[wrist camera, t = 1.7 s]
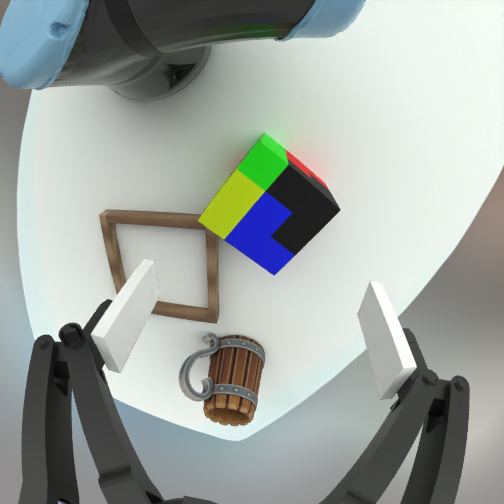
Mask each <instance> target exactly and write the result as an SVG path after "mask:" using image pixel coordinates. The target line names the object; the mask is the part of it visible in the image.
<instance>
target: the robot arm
mask: <svg viewBox="0 0 504 504" xmlns="http://www.w3.org/2000/svg"><path fill="white" fill-rule="evenodd" d="M365 1H366V0H11V2H10V5H9V6H8V8H7V11H6V13H5V15H4V18H3V21H2V24H1V27H0V76H1V77H2V78H3V79H4V81H5V82H6V83H7V85H9V86H11V87H13V88H18V89H19V88H20V89H21V88H22V89H23V88H33V89H37V90H41V89H45V88H47V87H58V86H76V85H107V86H108V87H109V88H111V89H112V90H114V91H115V92H116V93H118V94H120V95H121V96H124V97H127V98H130V99H135V100H154V99H160V98H164V97H167V96H169V95H172V94H174V93H176V92H178V91H179V90H181V89H183V88H184V87H185V86H187V85H188V84H189V83H190V82H191V81H192V80H193V79H194V78H195V77H196V76H197V75H198V74H199V73H200V71H201V70H202V68H203V67H204V65H205V63H206V61H207V59H208V57H209V54H210V50H211V45H214V44H221V43H228V42H237V41H247V40H259V39H274V40H275V41H286V40H289V39H292V38H326V37H331V36H334V35H336V34H337V33H339V32H342V31H344V30H345V29H347V28H348V27H349V26H350V25H351V24H352V23H353V21H354V20H355V19H356V18H357V16H358V15H359V13H360V11H361V9H362V8H363V6H364V3H365ZM159 297H160V289H159V283H158V277H157V271H156V264H155V260H151V259H143V261H142V262H141V263H140V264H139V266H138V267H137V268H136V270H135V271H134V272H133V274H132V275H131V276H130V278H129V279H128V281H127V282H126V283H125V285H124V286H123V287H122V289H121V290H120V292H119V293H118V294H117V296H116V297H115V299H114V300H109V299H107V300H106V301H104V302H103V303H102V304H100V306H99V307H98V308H97V310H96V312H95V313H94V314H93V316H92V317H91V318H90V320H89V321H88V323H87V324H86V326H85V327H84V329H83V330H82V328H81V326H80V325H79V324H77V323H68V324H66V325H64V326H63V327H62V328H61V329H60V331H59V338H60V340H61V341H62V342H55V341H54V340H53V338H52V336H50V335H42V336H40V337H38V338H37V339H36V341H35V343H34V346H33V351H32V355H31V360H30V365H29V371H28V377H27V384H26V390H25V400H24V408H23V421H22V475H23V483H22V488H21V493H20V498H19V503H18V504H79V493H78V487H77V480H76V472H75V465H74V455H73V442H72V419H71V396H72V390H73V394H74V398H75V403H76V406H77V410H78V414H79V417H80V421H81V424H82V428H83V431H84V434H85V437H86V440H87V443H88V446H89V449H90V452H91V454H92V457H93V459H94V462H95V465H96V467H97V470H98V472H99V476H100V477H99V479H98V481H99V485H100V488H101V490H102V492H103V494H104V497H105V499H106V501H107V503H108V504H217V503H214V502H211V501H208V500H203V499H198V498H192V497H188V496H184V498H176V499H170V500H166V501H165V500H164V499H163V497H162V496H161V494H160V493H159V491H158V490H157V488H156V487H155V486H154V484H153V483H152V482H151V480H150V479H149V477H148V475H147V474H146V472H145V470H144V468H143V466H142V464H141V462H140V460H139V458H138V456H137V454H136V452H135V450H134V448H133V446H132V444H131V442H130V440H129V437H128V435H127V433H126V431H125V428H124V426H123V423H122V421H121V419H120V416H119V414H118V411H117V409H116V406H115V403H114V401H113V398H112V395H111V392H110V389H109V387H108V384H107V381H106V377H105V374H104V371H103V370H102V367H103V366H104V364H106V366H107V368H108V370H111V371H114V372H117V373H121V371H122V369H123V367H124V365H125V363H126V361H127V359H128V357H129V355H130V353H131V351H132V349H133V347H134V345H135V343H136V341H137V339H138V337H139V335H140V333H141V331H142V329H143V327H144V325H145V323H146V321H147V319H148V317H149V315H150V314H151V312H152V310H153V308H154V306H155V304H156V302H157V300H158V299H159ZM357 315H358V318H359V321H360V325H361V328H362V332H363V335H364V339H365V343H366V346H367V350H368V354H369V357H370V361H371V366H372V370H373V373H374V378H375V382H376V387H377V391H378V396H379V399H380V400H383V399H392V398H393V397H394V395H395V394H396V393H397V394H398V397H399V399H398V400H397V401H396V402H395V403H394V404H393V405H392V406H391V408H390V409H391V411H390V413H389V414H388V416H387V418H386V419H385V421H384V423H383V424H382V426H381V427H380V429H379V430H378V432H377V434H376V435H375V436H374V438H373V439H372V441H371V442H370V444H369V445H368V447H367V448H366V449H365V451H364V452H363V454H362V455H361V456H360V458H359V459H358V460H357V462H356V463H355V464H354V465H353V467H352V468H351V469H350V471H349V472H348V473H347V474H346V476H345V477H344V478H343V479H342V480H341V482H340V483H339V484H338V485H337V486H336V487H335V489H334V490H333V491H332V492H331V493H330V494H329V495H328V496H327V497H326V498H325V499H324V500H323V501H322V502H320V503H319V504H376V502H377V501H378V500H379V498H380V497H381V495H382V494H383V492H384V491H385V490H386V488H387V487H388V485H389V484H390V482H391V481H392V479H393V478H394V476H395V474H396V473H397V471H398V469H399V468H400V466H401V464H402V463H403V461H404V459H405V458H406V456H407V454H408V452H409V450H410V448H411V447H412V445H413V443H414V441H415V439H416V437H417V435H418V433H419V431H420V428H421V427H422V425H423V428H422V433H421V437H420V441H419V446H418V450H417V454H416V457H415V461H414V465H413V468H412V472H411V475H410V478H409V481H408V484H407V487H406V490H405V492H404V495H403V498H402V501H401V503H400V504H454V502H455V498H456V494H457V490H458V486H459V482H460V478H461V473H462V467H463V462H464V455H465V448H466V440H467V432H468V419H469V391H470V390H469V383H468V382H467V380H466V379H465V378H464V377H462V376H458V375H457V376H455V377H453V378H452V380H451V381H447V380H441V379H439V378H438V376H437V375H436V373H435V372H433V371H432V370H429V369H428V368H427V365H426V363H425V360H424V358H423V355H422V353H421V351H420V349H419V346H418V343H417V341H416V338H415V336H414V334H413V333H412V332H411V331H410V330H409V329H408V328H401V325H400V323H399V321H398V318H397V316H396V314H395V311H394V309H393V307H392V305H391V302H390V300H389V298H388V296H387V294H386V292H385V289H384V287H383V285H382V283H381V282H380V281H370V282H369V285H368V287H367V290H366V293H365V296H364V298H363V301H362V304H361V306H360V309H359V312H358V314H357ZM423 422H424V423H423Z"/></svg>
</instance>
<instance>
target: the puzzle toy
mask: <svg viewBox="0 0 504 504" xmlns="http://www.w3.org/2000/svg"><path fill="white" fill-rule="evenodd" d="M339 211H340V208H339V206H338V205H337V203H336V201H335V199H334V198H333V196H332V194H331V193H330V191H329V189H328V188H327V186H326V184H325V183H324V182H323V181H322V180H321V179H320V178H318V177H317V176H316V175H315V174H314V173H313V172H312V171H310V170H309V169H308V168H307V167H306V166H305V165H303V164H302V163H301V162H300V161H299V160H298V159H296V158H295V157H294V156H293V155H291V154H290V153H289V152H288V151H287V150H285V149H284V148H283V147H282V146H280V145H279V144H278V143H277V142H275V141H274V140H273V139H272V138H270V137H269V136H268V135H266V134H265V133H264V134H263V135H262V137H261V138H260V139H259V140H258V141H257V143H256V144H255V145H254V146H253V147H252V149H251V150H250V151H249V152H248V153H247V155H246V156H245V157H244V158H243V160H242V161H241V162H240V163H239V165H238V166H237V167H236V168H235V170H234V171H233V172H232V173H231V175H230V176H229V177H228V179H227V180H226V181H225V182H224V184H223V185H222V186H221V188H220V189H219V190H218V192H217V193H216V194H215V196H214V197H213V199H212V200H211V202H210V203H209V205H208V206H207V208H206V209H205V211H204V212H203V214H202V215H201V217H200V218H199V220H198V221H199V222H200V223H201V224H203V225H204V226H206V227H207V228H208V229H210V230H211V231H213V232H214V233H215V234H217V235H218V236H219V237H221V238H222V239H224V240H225V241H226V242H228V243H229V244H231V245H232V246H233V247H235V248H236V249H238V250H239V251H240V252H242V253H243V254H245V255H246V256H247V257H249V258H250V259H252V260H253V261H254V262H256V263H257V264H259V265H260V266H261V267H263V268H264V269H266V270H267V271H268V272H270V273H271V274H273V275H275V274H276V273H277V272H279V271H280V270H281V269H282V268H283V267H284V266H285V265H286V264H287V263H288V262H289V261H290V260H291V259H292V258H293V257H294V256H295V255H296V254H297V253H298V252H299V251H300V250H301V249H302V248H303V247H304V246H305V245H306V244H307V243H308V242H309V241H310V240H311V239H312V238H313V237H314V236H315V235H316V234H317V233H318V232H319V231H320V230H321V229H322V228H323V227H324V226H325V225H326V224H327V223H328V222H329V221H330V220H331V219H332V218H333V217H334V216H335V215H336V214H337V213H338V212H339Z"/></svg>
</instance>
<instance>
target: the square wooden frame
mask: <svg viewBox="0 0 504 504" xmlns="http://www.w3.org/2000/svg"><path fill="white" fill-rule="evenodd" d="M99 216H100V222H101V228H102V233H103V238H104V243H105V248H106V252H107V257H108V261H109V265H110V269H111V273H112V277H113V281H114V285H115V289H116V292H117V294H118V293H119V292H120V290H121V289H122V287H123V286H124V285H125V283H126V279H125V275H124V270H123V266H122V261H121V256H120V251H119V246H118V241H117V235H116V229H115V223H121V224H136V225H150V226H164V227H177V228H189V229H201V230H206V247H207V278H208V301H209V309H208V308H200V307H193V306H186V305H179V304H172V303H166V302H160V301H157V302H156V304H155V306H154V308H153V310H152V312H151V314H157V315H163V316H169V317H175V318H181V319H188V320H194V321H201V322H208V323H216V324H217V320H218V317H219V293H218V235H217V234H215V233H214V232H213V231H211V230H210V229H208V228H207V227H206V226H204V225H203V224H201V223H200V222H199V221H198V220H199V218H200V217H201V215H198V214H183V213H167V212H149V211H129V210H105V211H104V212H103V213H101V214H100V215H99Z"/></svg>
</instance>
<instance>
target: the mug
mask: <svg viewBox="0 0 504 504" xmlns="http://www.w3.org/2000/svg"><path fill="white" fill-rule="evenodd" d="M202 341H204V342H205V343H207V342H210V345H211V346H210V348H209V349H204V350H200V351H198V352H196V353H194V354H193V355H191V356H189V357H188V358H187V359H186V360H185V362H184V363H183V365H182V367H181V369H180V372H179V384H180V387H181V390H182V392H183V393H184V395H185V396H187V397H188V398H189V399H191V400H193V401H202V400H204V408H203V410H204V414H205V416H206V417H207V418H210V419H211V421H213V422H216V423H217V422H218V421H219V423H220V424H222V425H228V424H229V423H230V425H231V426H238V425H239V424H240V425H247V423H250V422H251V421H252V420H253V417H254V412H255V410H256V407H257V402H258V398H257V396H258V390H259V385H260V379H261V374H262V369H263V367H264V362H265V353H264V350H263V348H262V347H261V346H260V344H258V343H257V342H256V341H254V340H252V339H250V338H247V337H245V336H239V335H231V336H226V337H223V338H220V339H218V338H217V336H216V335H214V334H212V333H210V334H207V335H206V336H204V337H203V338H202ZM209 355H210V367H209V374H208V378H206V379H204V380H202V381H201V382H202V385H203V392H202V393H198V392H196V391H195V390H194V389H193V388H192V386H191V384H190V380H189V373H190V370H191V367H192V365H193V364H194V362H195V361H196V360H197V359H198V358H201V357H205V356H209Z"/></svg>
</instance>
